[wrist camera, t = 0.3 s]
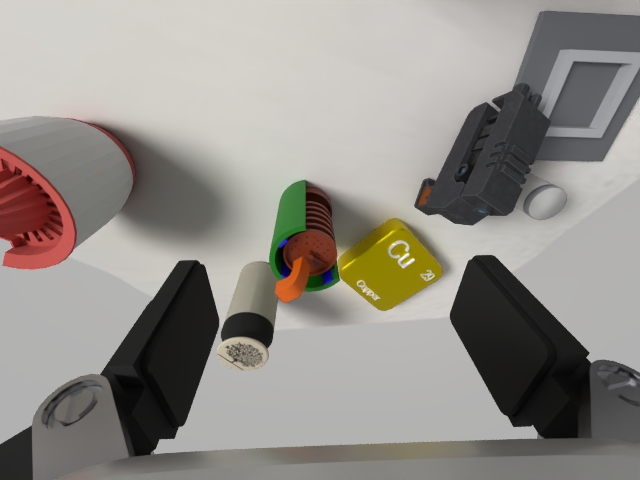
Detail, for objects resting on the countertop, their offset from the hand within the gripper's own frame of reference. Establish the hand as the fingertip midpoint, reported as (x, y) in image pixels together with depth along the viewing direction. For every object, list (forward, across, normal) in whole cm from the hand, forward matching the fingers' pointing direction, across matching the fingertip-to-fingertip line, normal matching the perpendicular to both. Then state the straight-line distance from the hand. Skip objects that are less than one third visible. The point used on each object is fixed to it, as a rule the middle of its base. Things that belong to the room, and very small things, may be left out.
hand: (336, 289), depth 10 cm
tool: (+37, -22, +4) cm, 43 cm away
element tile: (+37, -14, +26) cm, 47 cm away
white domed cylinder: (+36, -34, +10) cm, 51 cm away
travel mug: (+37, +11, +29) cm, 48 cm away
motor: (+37, +2, +14) cm, 39 cm away
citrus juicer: (+37, +35, +6) cm, 51 cm away
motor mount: (+36, -37, -4) cm, 52 cm away
